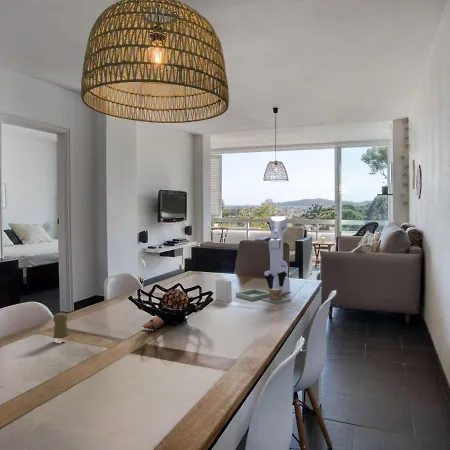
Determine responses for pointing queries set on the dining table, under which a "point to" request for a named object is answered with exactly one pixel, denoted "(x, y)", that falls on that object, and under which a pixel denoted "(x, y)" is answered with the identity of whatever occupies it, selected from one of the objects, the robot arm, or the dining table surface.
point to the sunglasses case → (154, 323)
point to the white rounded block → (223, 290)
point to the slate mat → (277, 300)
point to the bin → (253, 294)
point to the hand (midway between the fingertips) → (276, 287)
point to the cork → (60, 325)
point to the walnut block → (275, 294)
